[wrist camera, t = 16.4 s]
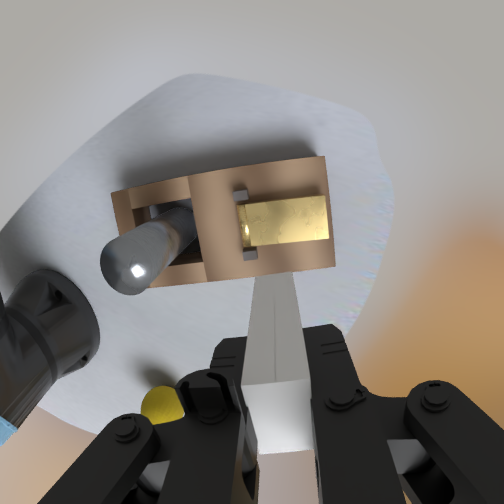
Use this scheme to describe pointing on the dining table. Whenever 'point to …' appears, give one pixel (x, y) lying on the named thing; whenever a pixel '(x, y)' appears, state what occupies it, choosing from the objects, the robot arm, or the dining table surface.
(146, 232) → the peg
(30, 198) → the dining table surface
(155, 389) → the lemon
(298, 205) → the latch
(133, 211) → the block
